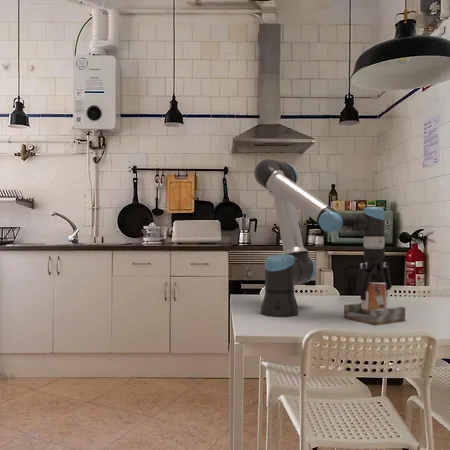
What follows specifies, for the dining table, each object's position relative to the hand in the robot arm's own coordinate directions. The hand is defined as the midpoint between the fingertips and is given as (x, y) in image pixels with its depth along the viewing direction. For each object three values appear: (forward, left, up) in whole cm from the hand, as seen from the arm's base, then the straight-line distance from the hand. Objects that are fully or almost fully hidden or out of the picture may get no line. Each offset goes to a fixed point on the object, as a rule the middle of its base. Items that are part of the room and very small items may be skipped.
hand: (374, 307), depth 169 cm
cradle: (0, 0, -4) cm, 4 cm away
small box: (0, 0, -1) cm, 1 cm away
